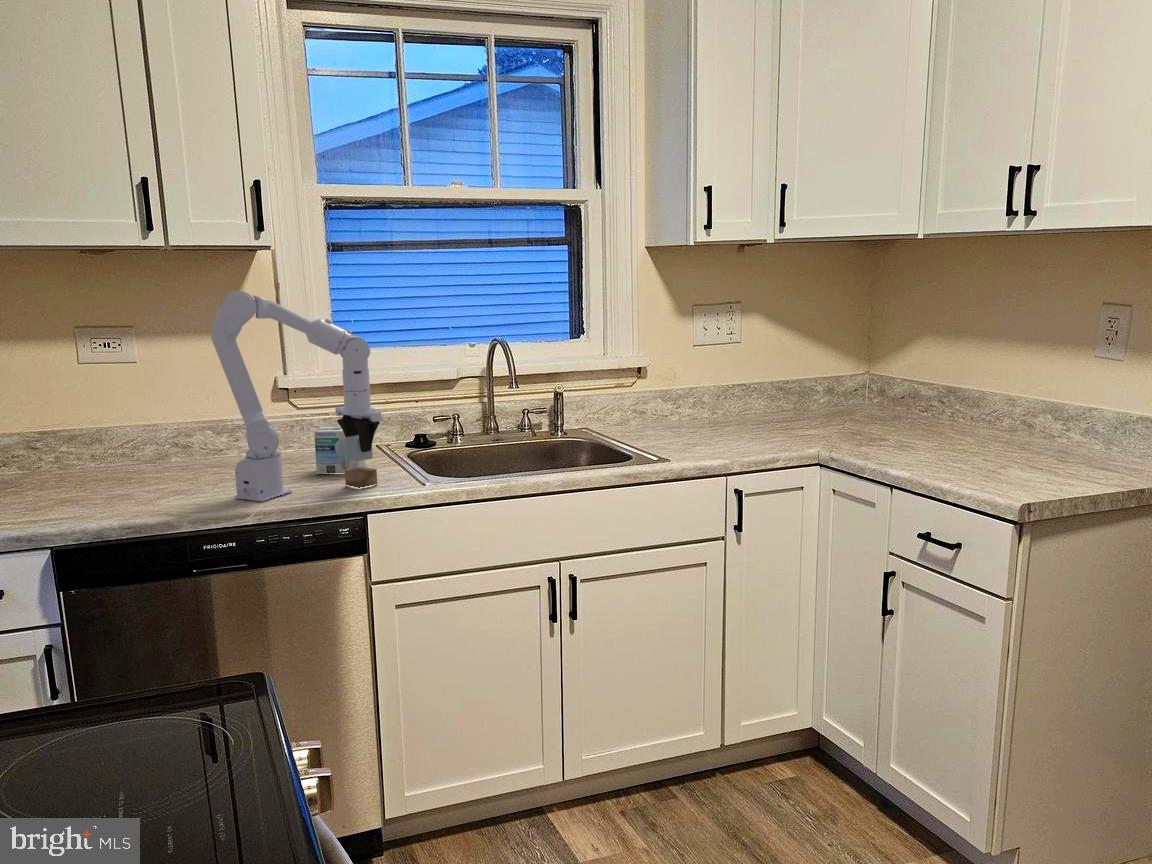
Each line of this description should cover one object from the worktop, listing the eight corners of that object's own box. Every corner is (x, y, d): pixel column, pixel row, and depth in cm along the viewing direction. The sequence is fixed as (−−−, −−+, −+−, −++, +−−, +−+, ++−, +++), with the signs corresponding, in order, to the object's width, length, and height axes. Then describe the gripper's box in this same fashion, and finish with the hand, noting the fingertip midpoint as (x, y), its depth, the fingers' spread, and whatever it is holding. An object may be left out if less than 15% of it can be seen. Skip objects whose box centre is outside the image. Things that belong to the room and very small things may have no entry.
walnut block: (359, 490, 198) (358, 473, 197) (345, 487, 201) (344, 470, 201) (377, 486, 202) (376, 469, 201) (363, 483, 205) (362, 466, 204)
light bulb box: (315, 475, 213) (313, 431, 211) (322, 469, 220) (320, 426, 218) (360, 474, 214) (358, 430, 212) (366, 468, 220) (364, 425, 218)
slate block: (357, 461, 198) (356, 439, 197) (347, 458, 201) (346, 437, 200) (372, 458, 201) (371, 436, 200) (361, 456, 204) (360, 434, 203)
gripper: (391, 390, 196) (394, 451, 199) (352, 385, 206) (355, 443, 208) (365, 394, 191) (368, 456, 194) (326, 389, 201) (329, 448, 203)
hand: (360, 450), depth 201 cm, fingers closed on slate block, 4 cm apart
